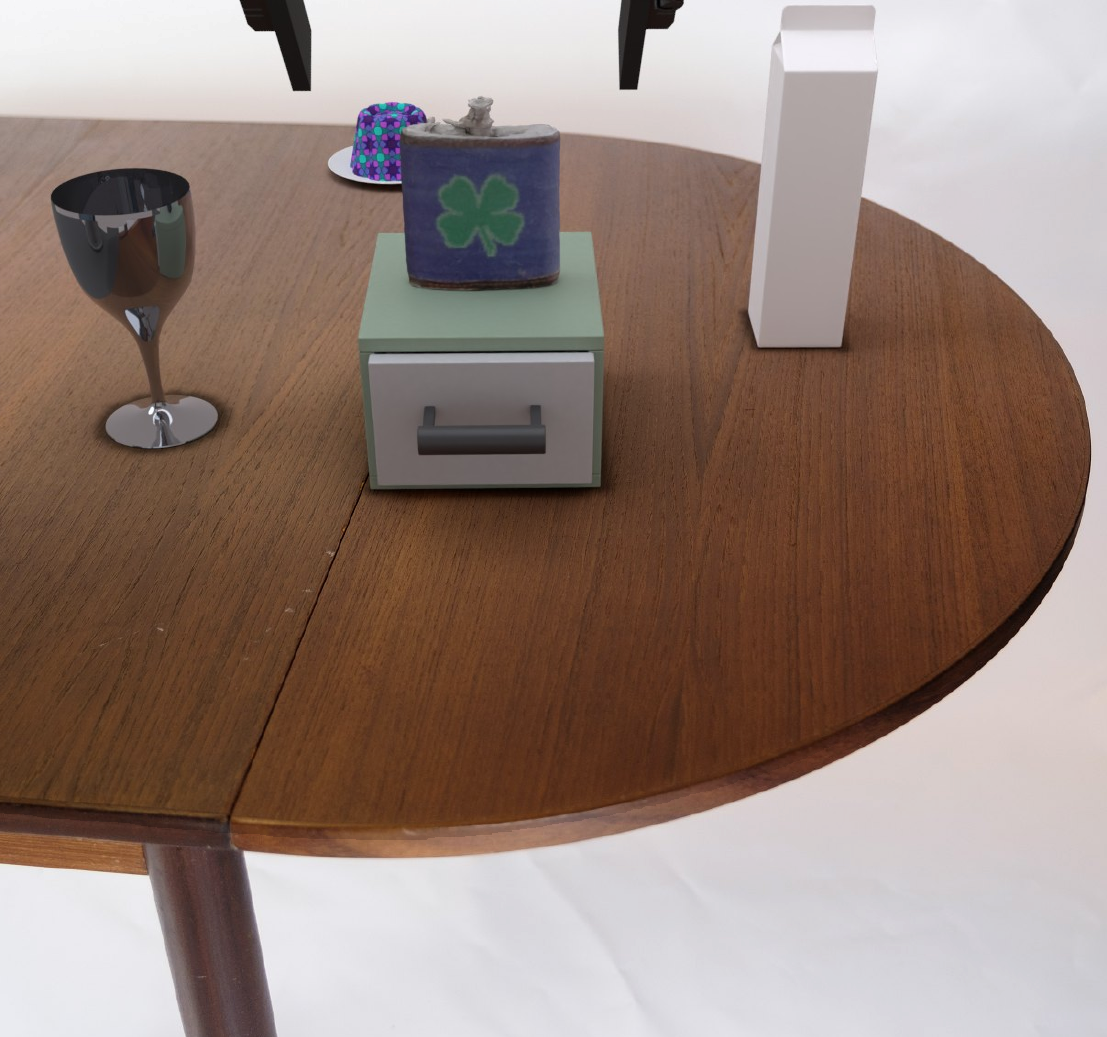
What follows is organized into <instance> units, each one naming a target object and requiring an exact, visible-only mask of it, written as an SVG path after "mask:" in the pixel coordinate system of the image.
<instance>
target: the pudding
mask: <svg viewBox="0 0 1107 1037" xmlns="http://www.w3.org/2000/svg"><path fill="white" fill-rule="evenodd" d="M426 115H427V114H426V113H425V112H424V110H423V109H422V108H421V107H418V106H416V105H415V104H412V103H407V102H398V101H391V102H390V101H388V102H384V103H373V104H371V105H369V106H368V107H364V108H362V109H361V110H360V111H359V113H358V115H357V118H356V126H355V132H354V137H353V145H350V146H348V147H345V148H343V149H340V150H338V151H337V152H335V153H333V154H332V155H331V156H330V157H329V159H328V161H327V165H328V166H327V167H328V168H329V169H330V171H331V172H333V173H334V174H336V175H338V176H339V177H342V178H345V179H348V180H351V181H355V182H360V183H367V184H376V185H402V183H401V160H400V146H399V139H400V135H401V131H402V129H403V128H405V127H407V126H409V125H415V124H420V123H427V119H428V118H427V116H426Z"/></svg>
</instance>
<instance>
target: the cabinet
mask: <svg viewBox="0 0 1107 1037" xmlns="http://www.w3.org/2000/svg"><path fill="white" fill-rule="evenodd" d="M376 236H377V237H376V243H375V247H374V252H373V257H372V263H371V269H370V274H369V279H368V284H367V289H366V294H365V300H364V304H363V308H362V315H361V321H360V324H359V331H358V336H357V345H358V347H357V348H358V357H359V369H360V370H359V371H360V382H361V394H362V405H363V406H362V407H363V414H364V415H363V417H364V427H365V428H364V430H365V440H366V451H367V463H368V476H369V485H370V489H371V490H430V489H431V490H435V489H436V490H439V489H441V490H442V489H443V490H445V489H530V488H531V489H533V488H534V489H535V488H536V489H539V488H541V489H542V488H543V489H545V488H546V489H547V488H600V487H601V481H602V480H601V479H602V474H601V473H602V447H603V446H602V445H603V444H602V442H603V409H604V408H603V406H604V374H605V373H604V372H605V371H604V369H605V330H604V329H605V328H604V321H603V314H602V305H601V298H600V292H599V281H598V273H597V265H596V258H595V249H594V241H593V233H592V231H560V232H559V236H560V273H559V276H558V281H557V282H555V283H554V284H553V285H549V286H548V285H547V286H546V285H543V286H539V287H536V288H527V287H524V288H521V287H520V288H511V289H488V288H482V289H479V290H475V289H472V290H457V289H456V290H455V289H453V290H452V289H451V290H448V289H447V290H446V289H428V288H419V287H417V286H412V285H411V284H410V283H409V276H408V272H407V264H406V251H405V233H404V232H379V233H377V235H376ZM553 350H578V352H592V353H593V354H594V404H593V450H592V483H590V484H498V485H399V486H379V485H378V478H377V466H376V453H375V441H374V429H373V417H372V405H371V392H370V380H369V368H368V362H369V356H370V354H386V352H429V351H553Z"/></svg>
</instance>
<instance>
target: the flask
mask: <svg viewBox="0 0 1107 1037" xmlns="http://www.w3.org/2000/svg"><path fill="white" fill-rule="evenodd" d="M467 101H468V103H467V107H469V111H468V113H467V114H466V115H465V116H462V117H460V118H459V119H458V121H456V120H453V119H450V118H442V122H444V123H441V122H440V121H437V122H436V118H435V116H429V117H428V118H427V123H420V124H415V125H409V126H407V127H405V128H403V129H402V131H401V135H400V139H399V146H400V160H401V183H402V184H401V190H402V212H403V213H402V214H403V225H404V226H403V233H405V251H406V264H407V272H408V276H409V283H410V284H411V285H412V286H417V287H419V288H428V289H446V290H447V289H448V290H451V289H452V290H453V289H455V290H456V289H457V290H472V289H475V290H479V289H482V288H488V289H511V288H520V287H521V288H524V287H527V288H536V287H539V286H543V285H546V286H547V285H548V286H549V285H553V284H554V283H555V282H557V281H558V276H559V273H560V236H559V232H561V211H560V208H561V207H560V204H561V203H560V186H561V181H560V177H561V176H560V173H561V171H560V170H561V157H560V156H561V154H560V152H561V134H560V131H559V130H558V129H557V128H556V127H553V126H551V125H550V124H543V123H535V124H527V125H526V124H524V125H521V124H520V125H499V126H495V125H493V123H494V122H495V120H494V119H493V118H492V117H491V114H490V112H491V111H492V105H493V104H494V98H492V97H485V96H483V95H480V96H477V98H475V97H473V98H472V99H468V100H467Z"/></svg>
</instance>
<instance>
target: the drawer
mask: <svg viewBox="0 0 1107 1037" xmlns="http://www.w3.org/2000/svg"><path fill="white" fill-rule="evenodd" d="M368 368H369V380H370V392H371V405H372V417H373V429H374V441H375V453H376V466H377V478H378V485H379V486H399V485H498V484H590V483H592V450H593V404H594V354H593V353H592V352H578V350H553V351H429V352H386V354H370V356H369V362H368Z"/></svg>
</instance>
